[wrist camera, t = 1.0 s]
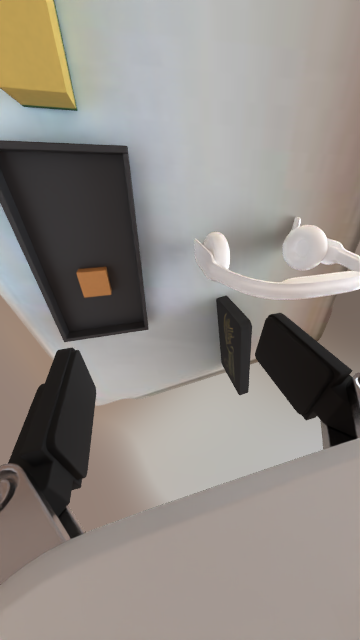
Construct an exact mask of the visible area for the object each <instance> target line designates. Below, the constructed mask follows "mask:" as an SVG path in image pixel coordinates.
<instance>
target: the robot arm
mask: <svg viewBox="0 0 360 640" xmlns="http://www.w3.org/2000/svg"><path fill="white" fill-rule="evenodd" d="M255 356H256V359H257V360H258V362H259V363H260V364H261V366H262V367H263V368H264V369H265V371H266V372H267V373H268V375H269V376H270V377H271V379H272V380H273V381H274V383H275V384H276V385H277V386H278V388H279V389H280V391H281V392H282V393H283V394H284V396H285V397H286V398H287V400H288V401H289V402H290V404H291V405H292V406H293V408H294V409H295V410H296V411H297V412H298V413H299V414H301V415H302V416H303V417H304V419H305V420H309V419H312V418H315V417H316V416H318V417H319V418H320V420H321V428H322V438H323V449H324V450H321V451H318V452H315V453H312V454H309V455H306V456H303V457H300V458H297V459H294V460H291V461H288V462H285V463H282V464H279V465H276V466H274V467H270V468H268V469H264V470H262V471H259V472H256V473H253V474H250V475H247V476H244V477H241V478H238V479H235V480H232V481H229V482H226V483H223V484H220V485H217V486H215V487H212V488H209V489H206V490H203V491H200V492H197V493H194V494H192V495H189V496H186V497H183V498H180V499H177V500H174V501H171V502H168V503H165V504H162V505H160V506H157V507H154V508H151V509H148V510H145V511H143V512H140V513H137V514H134V515H132V516H129V517H126V518H123V519H121V520H118V521H115V522H112V523H110V524H107V525H104V526H102V527H99V528H96V529H94V530H91V531H89V532H87V533H86V531H85V530H84V528H83V527H82V526H81V524H80V523H79V521H78V519H77V518H76V516H75V515H74V514H73V512H72V511H71V509H70V508H69V506H68V504H69V503H70V497H71V490H74V489H78V488H80V487H81V482H82V478H85V477H86V475H87V470H88V460H89V452H90V443H91V435H92V426H93V417H94V408H95V399H96V387H95V385H94V383H93V380H92V378H91V376H90V374H89V371H88V369H87V367H86V365H85V362H84V360H83V358H82V356H81V353H80V351H79V350H75V349H74V348H67V349H61V350H58V351H57V352H56V355H55V358H54V360H53V363H52V366H51V368H50V372H49V374H48V377H47V379H46V382H45V384H42V385H40V386H39V388H38V390H37V392H36V394H35V397H34V399H33V402H32V404H31V407H30V409H29V413H28V415H27V417H26V420H25V422H24V425H23V427H22V430H21V432H20V435H19V437H18V440H17V442H16V445H15V447H14V450H13V452H12V455H11V458H10V460H9V462H8V464H4V465H1V466H0V640H360V373H357V374H355V375H354V376H353V377H351V376H350V375H349V374H350V373H351V372H352V370H351V369H350V368H349V367H347V366H346V365H345V364H344V363H342V362H341V361H340V360H339V359H338V358H336V357H335V356H334V355H333V354H331V353H330V352H329V351H328V350H327V349H325V348H324V347H323V346H322V345H320V344H319V343H318V342H317V341H316V340H314V339H313V338H312V337H311V336H309V335H308V334H307V333H306V332H305V331H303V330H302V329H301V328H300V327H298V326H297V325H296V324H295V323H294V322H292V321H291V320H290V319H289V318H287V317H286V316H285V315H284V314H282V313H277V314H271V315H269V316H268V318H267V319H266V320H265V323H264V327H263V330H262V333H261V336H260V340H259V343H258V346H257V349H256V352H255Z"/></svg>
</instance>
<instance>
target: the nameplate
mask: <svg viewBox="0 0 360 640" xmlns="http://www.w3.org/2000/svg"><path fill="white" fill-rule="evenodd" d="M216 302H217V314H218V326H219V338H220V350H221V362H222V365H223V367H224V369H225V371H226V373H227V374H228V376H229V378H230V380H231V381H232V383H233V385H234V387H235V388H236V390H237V392H238V394H239V395H242V394H245V393H248V386H249V369H250V352H251V334H252V325H251V322H250V320H249V319H248V318H247V317H246V316H245V315H244V313H243V312H242V311H241V310H240V309H239V308H238V307H237V306H236V305H235V304H234V303H233V302H232V301H231V300H230V299H229V298H228V297H227V296H224V297H221V298H217V300H216Z"/></svg>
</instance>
